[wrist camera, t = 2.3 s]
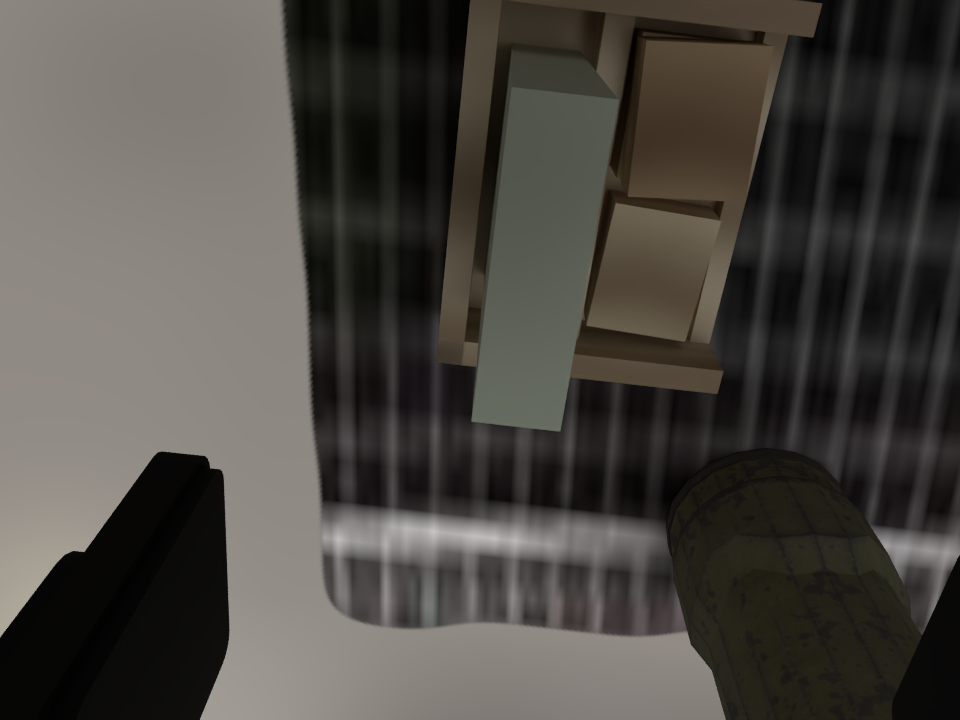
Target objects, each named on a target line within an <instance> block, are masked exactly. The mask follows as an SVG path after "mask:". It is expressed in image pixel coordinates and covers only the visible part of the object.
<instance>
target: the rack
mask: <svg viewBox="0 0 960 720" xmlns="http://www.w3.org/2000/svg"><path fill="white" fill-rule="evenodd" d="M821 7H822V3H814V2H805V1H797V0H470V8H469V19H468V30H467V40H466V51H465V61H464V72H463V83H462V93H461V104H460V114H459V125H458V135H457V146H456V157H455V167H454V178H453V188H452V199H451V210H450V220H449V231H448V241H447V252H446V262H445V273H444V284H443V294H442V305H441V315H440V326H439V337H438V347H437V358H436V362H439V363H448V364H456V365H465V366H474V367H476V365H477V354H478V342H479V331H480V320H481V308H482V297H483V286H484V275H485V266H486V258H487V249H488V241H489V232H490V224H491V215H492V207H493V198H494V190H495V181H496V173H497V164H498V155H499V147H500V138H501V130H502V121H503V113H504V104H505V96H506V87H507V79H508V70H509V62H510V53H511V45H512V43H516V44H525V45H533V46H541V47H550V48H558V49H566V50H575V51H580V52H581V53H582V54H583V56H584V57H585V58H586V59H587V61H588V62H589V63H590V64H591V66H592V67H593V68H594V69H595V71H596V72H597V73H598V74H599V76H600V77H601V78H602V79H603V81H604V82H605V83H606V84H607V85H608V87H609V88H610V89H611V90H612V92H613V93H614V94H615V95H616V97H617V98H618V99H619V102H618V107H617V113H616V119H615V124H614V130H613V136H612V141H611V147H610V153H609V158H608V164H607V170H606V175H605V181H604V186H603V192H602V198H601V203H600V209H599V215H598V220H597V226H596V232H595V237H594V243H593V249H592V254H591V260H590V266H589V271H588V277H587V283H586V288H585V294H584V300H583V305H582V311H581V317H580V322H579V328H578V334H577V339H576V345H575V351H574V356H573V362H572V368H571V373H570V377H571V378H580V379H589V380H598V381H607V382H616V383H625V384H633V385H642V386H651V387H660V388H669V389H678V390H687V391H695V392H704V393H713V394H717V393H718V390H719V386H720V382H721V378H722V375H723V369H722V367H721V366H720V364H719V362H718V360H717V358H716V356H715V354H714V352H713V350H712V348H711V346H710V345H709V343H710V339H711V335H712V331H713V327H714V323H715V319H716V315H717V312H718V308H719V304H720V300H721V296H722V292H723V288H724V284H725V280H726V276H727V273H728V269H729V265H730V261H731V257H732V253H733V249H734V245H735V241H736V237H737V233H738V230H739V226H740V222H741V218H742V214H743V210H744V206H745V202H746V199H745V202H730V201H709V200H688V199H667V200H673V201H679V202H685V203H691V204H697V205H703V206H708V207H710V208H711V209H712V210H713V211H714V213H715V214H716V215H717V216H718V217H719V219H720V220H721V224H720V227H719V231H718V234H717V237H716V241H715V244H714V247H713V251H712V254H711V257H710V261H709V264H708V267H707V271H706V274H705V277H704V281H703V284H702V287H701V291H700V294H699V297H698V301H697V304H696V307H695V310H694V314H693V317H692V320H691V324H690V327H689V330H688V334H687V337H686V340H685V342H683V341H677V340H671V339H665V338H659V337H653V336H647V335H641V334H635V333H628V332H622V331H616V330H610V329H604V328H598V327H592V326H586V321H585V317H584V312H583V310H584V304H585V299H586V293H587V287H588V282H589V276H590V272H591V268H592V264H593V259H594V255H595V251H596V247H597V242H598V238H599V234H600V230H601V225H602V221H603V217H604V213H605V208H606V204H607V200H608V196H609V191H610V190H615V191H620V192H625V190H624V188H623V186H622V184H621V179H617V178H616V176H615V174H614V172H613V170H612V168H611V161H612V156H613V150H614V144H615V139H616V133H617V128H618V122H619V116H620V111H621V105H622V100H623V94H624V88H625V83H626V77H627V72H628V66H629V60H630V55H631V49H632V44H633V38H634V32H635V28H642V29H650V30H658V31H667V32H675V33H683V34H692V35H700V36H709V37H717V38H725V39H734V40H746V41H758V42H761V43H765V44H768V45H771V46H773V52H772V57H771V63H770V68H769V74H768V79H767V85H766V90H765V95H764V101H763V106H762V112H761V117H760V123H759V128H758V134H757V139H756V144H755V150H754V155H753V161H752V166H751V172H750V177H749V183H748V188H747V193H746V198H747V194H748V191H749V187H750V183H751V179H752V175H753V171H754V167H755V163H756V159H757V155H758V152H759V148H760V144H761V140H762V136H763V132H764V128H765V124H766V120H767V116H768V112H769V109H770V105H771V101H772V97H773V93H774V89H775V85H776V81H777V77H778V73H779V70H780V66H781V62H782V58H783V54H784V50H785V46H786V42H787V38H788V35H796V36H805V37H814V33H815V29H816V25H817V22H818V18H819V14H820V10H821ZM661 199H666V198H661Z"/></svg>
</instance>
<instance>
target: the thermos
mask: <svg viewBox="0 0 960 720" xmlns="http://www.w3.org/2000/svg"><path fill="white" fill-rule="evenodd" d="M666 529H667V539H668V547H669V550H670V554H671V556H672V562H673V572H674V582H675V586H676V590H677V593H678V597H679V601H680V605H681V609H682V612H683V616H684V620H685V624H686V627H687V631H688V635H689V639H690V642H691V645H692V646H693V648H694V649H695V650H696V651H697V653H698V654H699V655H700V656H701V657H702V659H703V660H704V661H705V662H706V664H707V665H708V666H709V667H710V669H711V670H712V672H713V676H714V679H715V683H716V686H717V690H718V693H719V697H720V700H721V704H722V708H723V711H724V715H725V718H726V720H893V719H892V702H893V699H894V696H895V694H896V692H897V690H898V687H899V685H900V683H901V681H902V679H903V677H904V674H905V672H906V670H907V668H908V666H909V663H910V661H911V659H912V657H913V655H914V653H915V650H916V648H917V646H918V644H919V642H920V639H921V637H922V635H921V633H920V632H919V630H918V628H917V627H916V625H915V624H914V622H913V620H912V619H911V611H910V600H909V595H908V593H907V591H906V589H905V587H904V585H903V583H902V581H901V579H900V577H899V575H898V573H897V571H896V569H895V567H894V565H893V563H892V561H891V559H890V557H889V555H888V553H887V552H886V550H885V548H884V547H883V545H882V544H881V542H880V541H879V539H878V538H877V536H876V534H875V533H874V531H873V530H872V528H871V527H870V525H869V523H868V522H867V520H866V519H865V517H864V516H863V514H862V513H861V512H860V511H859V510H858V509H857V508H856V507H855V506H854V505H853V504H852V503H851V502H850V501H849V500H848V499H847V498H846V497H845V495H844V493H843V490H842V488H841V486H840V485H839V483H838V482H837V480H836V479H835V478H834V477H833V476H832V475H831V474H830V473H829V472H828V471H827V470H826V469H825V468H824V467H823V466H822V465H821V464H819V463H817V462H815V461H813V460H811V459H809V458H807V457H804V456H802V455H800V454H798V453H796V452H789V451H782V450H774V449H759V450H751V451H744V452H737V453H734V454H732V455H729V456H727V457H725V458H722V459H720V460H717V461H715V462H712V463H710V464H708V465H707V466H706V467H705V468H703V469H702V470H701V471H699V472H698V473H697V474H695V475H694V476H693V477H691V478H690V479H689V480H687V482H686V483H685V485H684V486H683V487H682V489H681V490H680V492H679V493H678V494H677V496H676V497H675V498H674V500H673V501H672V505H671V508H670V511H669V515H668V518H667V522H666Z"/></svg>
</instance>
